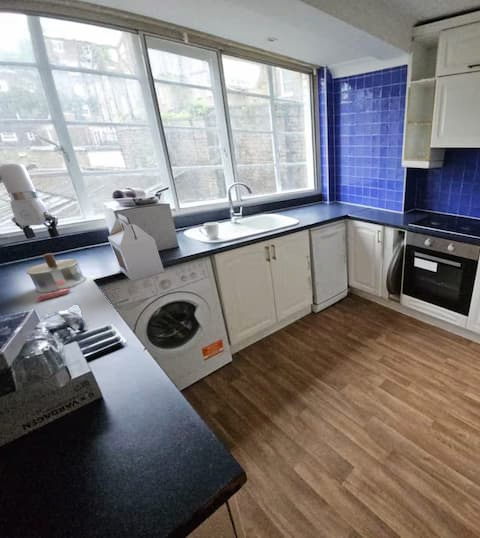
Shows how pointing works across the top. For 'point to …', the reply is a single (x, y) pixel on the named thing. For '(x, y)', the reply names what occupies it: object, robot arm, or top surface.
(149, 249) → the gable box
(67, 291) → the red rod
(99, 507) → the top surface
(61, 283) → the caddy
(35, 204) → the robot arm
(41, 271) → the caddy lid
